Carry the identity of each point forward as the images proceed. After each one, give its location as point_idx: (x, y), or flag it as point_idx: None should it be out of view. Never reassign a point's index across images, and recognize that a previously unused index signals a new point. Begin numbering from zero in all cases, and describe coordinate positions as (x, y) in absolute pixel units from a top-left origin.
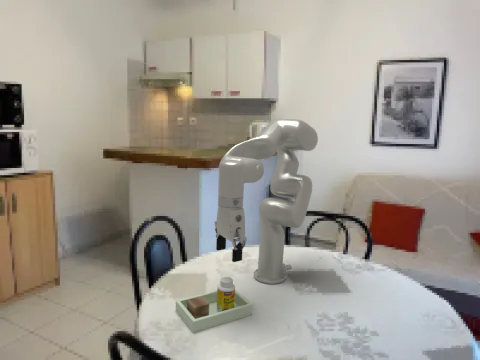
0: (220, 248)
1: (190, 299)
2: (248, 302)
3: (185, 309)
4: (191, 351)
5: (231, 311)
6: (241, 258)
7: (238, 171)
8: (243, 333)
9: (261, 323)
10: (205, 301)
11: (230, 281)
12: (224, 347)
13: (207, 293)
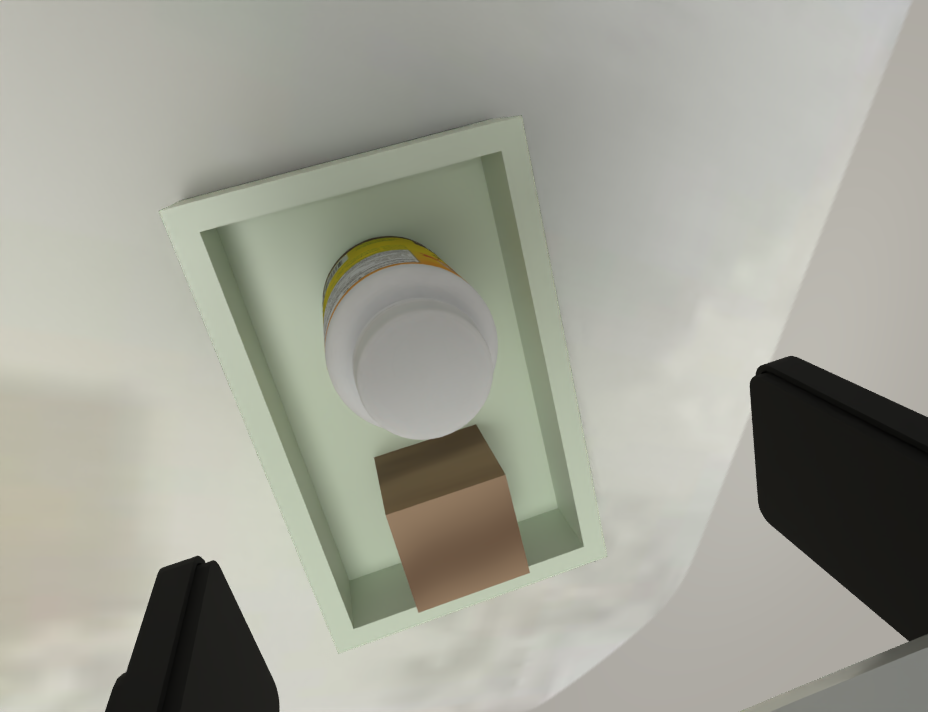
0: (253, 673)
1: (413, 591)
2: (482, 137)
3: (465, 596)
4: (683, 521)
5: (557, 308)
6: (808, 375)
7: None
8: (641, 238)
9: (582, 76)
10: (467, 497)
11: (480, 348)
12: (711, 371)
13: (268, 442)
